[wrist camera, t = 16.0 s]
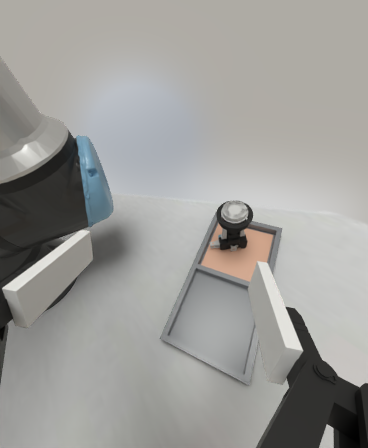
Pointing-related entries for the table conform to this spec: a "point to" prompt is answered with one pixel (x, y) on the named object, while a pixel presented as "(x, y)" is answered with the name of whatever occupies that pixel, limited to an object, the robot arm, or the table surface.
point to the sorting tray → (222, 302)
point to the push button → (233, 225)
